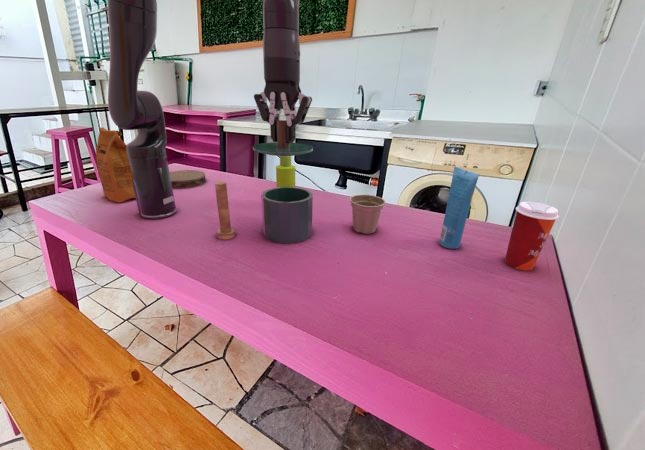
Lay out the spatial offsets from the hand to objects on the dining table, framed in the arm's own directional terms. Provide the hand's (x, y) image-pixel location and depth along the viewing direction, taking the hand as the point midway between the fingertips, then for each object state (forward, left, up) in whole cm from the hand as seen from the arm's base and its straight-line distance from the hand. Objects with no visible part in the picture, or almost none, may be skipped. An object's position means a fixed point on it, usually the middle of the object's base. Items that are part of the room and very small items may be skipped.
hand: (283, 141), depth 69 cm
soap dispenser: (-10, +19, -24) cm, 32 cm away
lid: (0, 0, -2) cm, 2 cm away
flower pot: (+18, +13, -24) cm, 32 cm away
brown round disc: (-58, +23, -24) cm, 67 cm away
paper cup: (+55, +11, -24) cm, 61 cm away
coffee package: (-62, +1, -24) cm, 66 cm away
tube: (+40, +14, -24) cm, 49 cm away
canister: (0, +2, -24) cm, 24 cm away
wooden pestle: (-13, -7, -24) cm, 28 cm away
